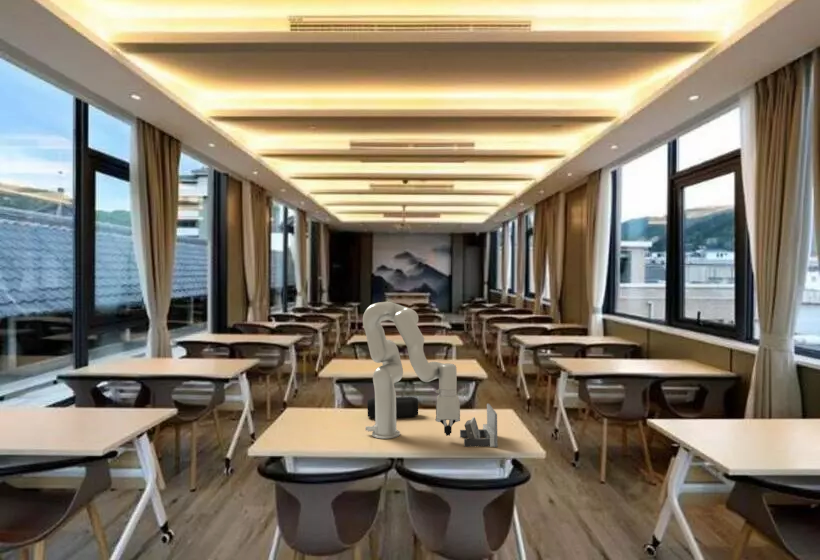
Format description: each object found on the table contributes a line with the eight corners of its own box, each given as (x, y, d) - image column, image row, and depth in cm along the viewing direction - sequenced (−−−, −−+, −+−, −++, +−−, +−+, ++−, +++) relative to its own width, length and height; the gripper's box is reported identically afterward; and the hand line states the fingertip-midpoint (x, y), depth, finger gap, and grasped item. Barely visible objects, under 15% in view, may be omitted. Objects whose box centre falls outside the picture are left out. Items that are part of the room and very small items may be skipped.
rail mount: (465, 448, 235) (464, 414, 234) (459, 435, 254) (459, 404, 253) (497, 447, 235) (497, 413, 235) (489, 434, 254) (489, 403, 254)
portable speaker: (367, 420, 282) (367, 400, 282) (367, 415, 292) (367, 396, 292) (418, 418, 284) (418, 399, 284) (416, 414, 294) (416, 394, 294)
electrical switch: (477, 443, 241) (475, 421, 241) (465, 444, 242) (463, 422, 243) (480, 437, 250) (478, 416, 250) (469, 437, 251) (467, 417, 252)
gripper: (431, 394, 240) (431, 437, 240) (466, 394, 240) (466, 437, 241) (429, 390, 247) (429, 432, 247) (463, 390, 248) (463, 432, 248)
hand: (447, 434), depth 244 cm, fingers closed
